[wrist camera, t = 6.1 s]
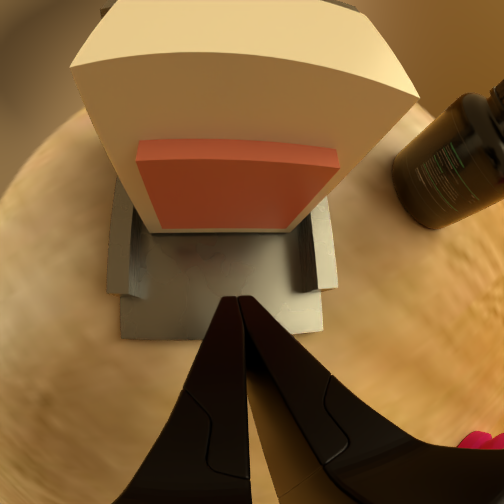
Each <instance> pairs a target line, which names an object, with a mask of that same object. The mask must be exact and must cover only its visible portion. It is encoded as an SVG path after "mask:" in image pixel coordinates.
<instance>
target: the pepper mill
mask: <svg viewBox="0 0 504 504" xmlns="http://www.w3.org/2000/svg"><path fill="white" fill-rule="evenodd" d="M458 448H471V449H503V448H504V433H502V434H499V435H498V436H496V437H495V438H493V439H492V436H491V434H489V433H485V432H480V431H474V432H472V433H471V434H469V435H468V436H467V437H466V438H465V439H464V440H463V441H462V442H461V443H460V444H459V446H458Z"/></svg>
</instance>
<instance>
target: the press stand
mask: <svg viewBox="0 0 504 504" xmlns="http://www.w3.org/2000/svg"><path fill="white" fill-rule="evenodd" d="M321 1H325V2H328V3H332V4H335V5H338V6H342V7H345V8H348V9H350V10H353V11H356V12H359V11H358V10H357V9H356V8H355V7H354V6H352V5H349V4H346V3H343V2H340V1H336V0H321ZM116 2H117V0H108V1H107V2H106V3H105V4H104V5H103V6H102V7H101V9H100V13H101V18H102V19H103V17H104V16H105V15H106V14H107V12H108V11H109V10H110V9H111V7H112V6H113V5H114V4H115V3H116ZM359 13H360V12H359ZM335 288H338V278H337V268H336V259H335V250H334V242H333V234H332V227H331V220H330V213H329V206H328V200H327V196H326V197H325V198H324V199H323V200H322V201H321V202H320V203H319V204H318V205H317V206H316V207H315V208H314V209H313V210H312V211H311V212H310V213H309V214H308V215H307V216H306V217H305V218H304V219H303V220H302V221H301V222H300V223H299V224H298V225H297V226H296V227H295V228H294V229H293V230H292V231H291V232H290V233H284V232H191V233H149V231H148V229H147V228H146V226H145V224H144V223H143V221H142V219H141V217H140V216H139V214H138V212H137V210H136V208H135V207H134V205H133V203H132V201H131V199H130V198H129V196H128V194H127V192H126V190H125V188H124V186H123V185H122V183H121V181H120V179H119V177H118V175H117V180H116V187H115V193H114V200H113V208H112V216H111V225H110V235H109V248H108V264H107V294H111V295H114V296H118V297H120V323H121V339H147V340H203V339H204V336H205V334H206V332H207V329H208V327H209V325H210V322H211V320H212V318H213V315H214V313H215V311H216V308H217V306H218V304H219V301H220V299H221V297H223V296H236V297H238V296H241V295H252V296H253V297H254V298H255V299H256V300H257V301H258V302H259V303H260V304H261V305H262V306H263V307H264V308H265V309H266V310H267V311H268V312H269V313H270V314H271V315H272V316H273V317H274V318H275V319H276V320H277V321H278V322H279V323H280V324H281V325H282V326H283V327H284V328H285V329H286V330H287V331H288V332H289V333H290V334H300V333H309V332H318V331H323V318H322V304H321V292H324V291H328V290H332V289H335Z"/></svg>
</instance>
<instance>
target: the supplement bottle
mask: <svg viewBox="0 0 504 504" xmlns="http://www.w3.org/2000/svg"><path fill="white" fill-rule="evenodd" d="M490 94H491V96H490V97H489V98H486V97H484V96H482V95H480V94H477V93H465V94H463V95H461V96H460V97H459V98H458V99H457V100H455V101H454V102H453V103H452V104H451V105H450V106H449V107H448V108H447V109H446V110H445V111H444V112H443V113H442V114H440V115H439V116H438V117H437V118H436V119H435V120H434V121H433V122H432V123H431V124H430V125H429V126H427V127H426V128H425V129H424V130H423V131H422V132H421V133H420V134H419V135H418V136H417V137H415V138H414V139H413V140H412V141H411V142H410V143H409V144H408V145H407V146H406V147H405V148H404V149H402V150H401V151H400V152H399V153H398V155H397V156H396V158H395V160H394V163H393V169H392V174H393V182H394V186H395V189H396V192H397V194H398V196H399V198H400V200H401V202H402V204H403V205H404V207H405V208H406V210H407V211H408V212H409V213H410V215H411V216H412V217H413V218H414V219H415V220H417V221H418V222H419V223H421V224H422V225H424V226H426V227H428V228H432V229H441V228H444V227H446V226H449V225H451V224H453V223H455V222H458V221H460V220H462V219H464V218H466V217H468V216H470V215H472V214H474V213H477V212H479V211H481V210H483V209H485V208H487V207H489V206H491V205H493V204H495V203H497V202H499V201H501V200H503V199H504V80H502V81H501V82H500V83H499V84H498V85H497V86H496V87H493V88H492V89H491V90H490Z"/></svg>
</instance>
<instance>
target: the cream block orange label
mask: <svg viewBox="0 0 504 504" xmlns="http://www.w3.org/2000/svg"><path fill="white" fill-rule="evenodd" d="M70 71H71V73H72V76H73V79H74V81H75V84H76V86H77V88H78V91H79V93H80V96H81V98H82V101H83V103H84V105H85V108H86V110H87V112H88V115H89V117H90V119H91V121H92V124H93V126H94V128H95V130H96V132H97V134H98V137H99V139H100V141H101V143H102V145H103V147H104V149H105V151H106V153H107V155H108V157H109V159H110V161H111V163H112V165H113V167H114V169H115V171H116V173H117V175H118V177H119V179H120V181H121V183H122V185H123V186H124V188H125V190H126V192H127V194H128V196H129V198H130V199H131V201H132V203H133V205H134V207H135V208H136V210H137V212H138V214H139V216H140V217H141V219H142V221H143V223H144V224H145V226H146V228H147V229H148V231H149V233H191V232H284V233H290V232H291V231H292V230H293V229H294V228H295V227H296V226H297V225H298V224H299V223H300V222H301V221H302V220H303V219H304V218H305V217H306V216H307V215H308V214H309V213H310V212H311V211H312V210H313V209H314V208H315V207H316V206H317V205H318V204H319V203H320V202H321V201H322V200H323V199H324V198H325V197H326V196H327V195H328V194H329V193H330V192H331V191H332V190H333V189H334V188H335V187H336V186H337V185H338V184H339V182H340V181H341V180H342V179H343V178H344V177H345V176H346V175H347V174H348V173H349V172H350V171H351V170H352V169H353V168H354V167H355V166H356V165H357V164H358V163H359V162H360V161H361V160H362V159H363V158H364V157H365V156H366V155H367V154H368V153H369V152H370V150H371V149H372V148H373V147H374V146H375V145H376V144H377V143H378V142H379V141H380V140H381V139H382V138H383V137H384V136H385V135H386V134H387V133H388V132H389V131H390V130H391V129H392V127H393V126H394V125H395V124H396V123H397V122H398V121H399V120H400V119H401V118H402V117H403V116H404V115H405V114H406V113H407V112H408V111H409V110H410V108H411V107H412V106H413V105H414V104H415V103H416V102H417V101H418V100H419V99H420V97H419V95H418V93H417V91H416V90H415V88H414V86H413V84H412V82H411V81H410V79H409V77H408V76H407V74H406V72H405V71H404V69H403V67H402V66H401V64H400V63H399V61H398V59H397V58H396V56H395V55H394V53H393V52H392V50H391V49H390V48H389V46H388V44H387V43H386V42H385V40H384V39H383V38H382V36H381V35H380V33H379V32H378V31H377V30H376V28H375V27H374V25H373V24H372V23H371V22H370V20H369V19H368V18H367V17H366V15H364V14H361V13H359V12H356V11H353V10H350V9H348V8H345V7H342V6H338V5H335V4H332V3H328V2H325V1H321V0H117V2H116V3H115V4H114V5H113V6H112V7H111V9H110V10H109V11H108V12H107V14H106V15H105V16H104V17H103V19H102V20H101V21H100V23H99V24H98V25H97V26H96V28H95V29H94V31H93V32H92V33H91V35H90V36H89V38H88V39H87V41H86V42H85V43H84V45H83V46H82V48H81V50H80V51H79V53H78V54H77V56H76V57H75V59H74V60H73V62H72V64H71V66H70Z"/></svg>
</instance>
